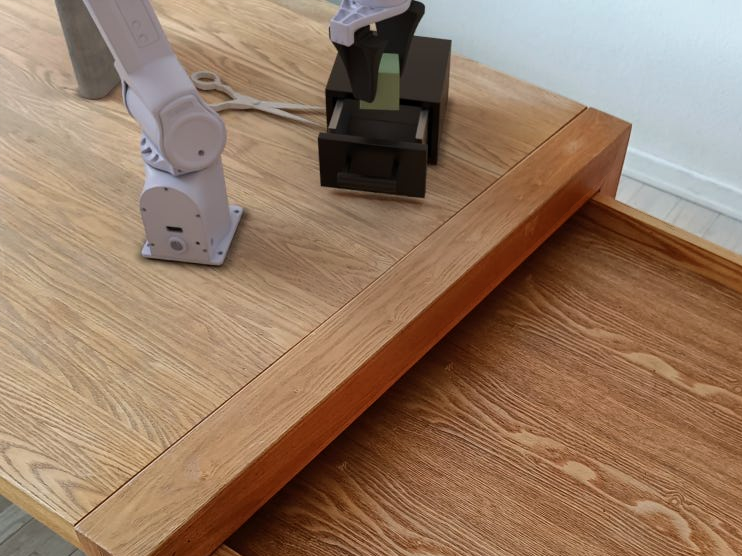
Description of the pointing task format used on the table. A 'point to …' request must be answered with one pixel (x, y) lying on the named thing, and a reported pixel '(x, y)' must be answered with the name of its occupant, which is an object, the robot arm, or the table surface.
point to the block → (386, 85)
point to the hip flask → (87, 50)
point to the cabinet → (409, 85)
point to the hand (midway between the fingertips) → (378, 86)
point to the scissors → (244, 98)
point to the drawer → (376, 149)
